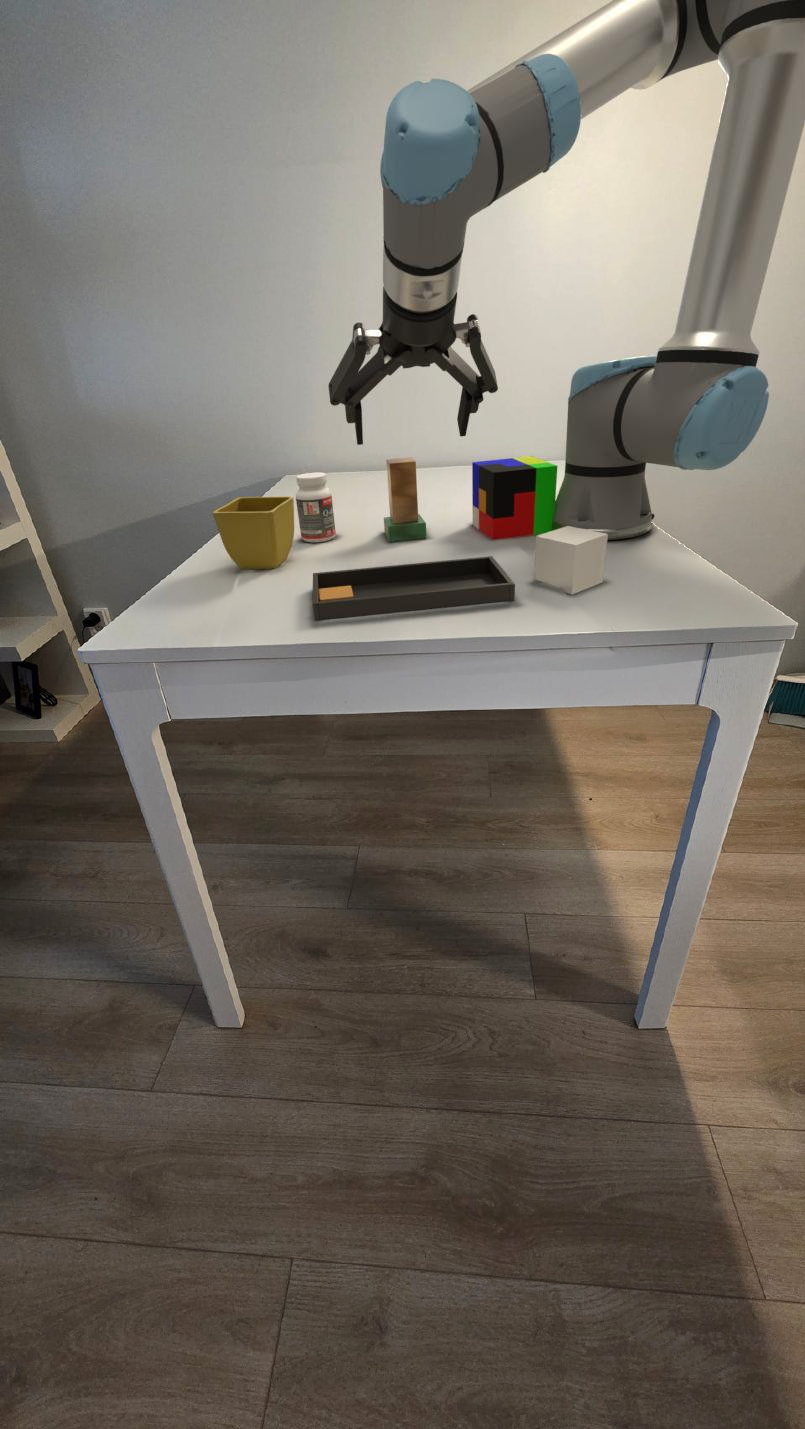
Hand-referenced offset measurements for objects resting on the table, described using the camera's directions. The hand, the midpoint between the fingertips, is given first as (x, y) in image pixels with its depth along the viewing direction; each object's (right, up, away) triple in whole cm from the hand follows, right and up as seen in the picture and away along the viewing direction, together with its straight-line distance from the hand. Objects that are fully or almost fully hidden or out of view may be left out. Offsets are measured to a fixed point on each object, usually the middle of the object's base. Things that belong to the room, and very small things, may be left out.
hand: (410, 432), depth 85 cm
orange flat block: (-9, -24, -7) cm, 26 cm away
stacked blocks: (-1, -8, +19) cm, 21 cm away
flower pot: (-21, -16, +9) cm, 28 cm away
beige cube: (+20, -21, -4) cm, 29 cm away
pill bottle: (-15, -8, +21) cm, 27 cm away
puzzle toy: (+17, -7, +20) cm, 27 cm away
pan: (0, -23, -6) cm, 24 cm away
